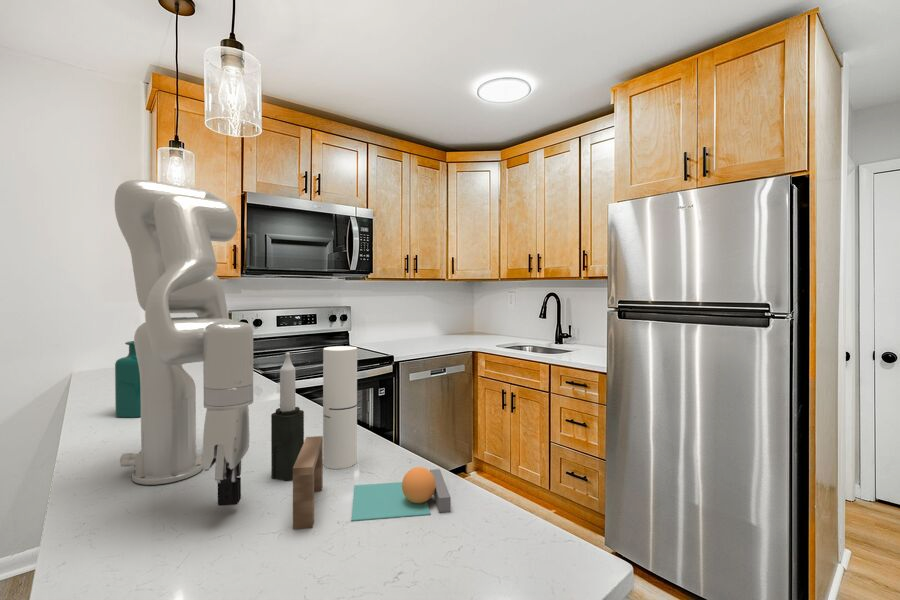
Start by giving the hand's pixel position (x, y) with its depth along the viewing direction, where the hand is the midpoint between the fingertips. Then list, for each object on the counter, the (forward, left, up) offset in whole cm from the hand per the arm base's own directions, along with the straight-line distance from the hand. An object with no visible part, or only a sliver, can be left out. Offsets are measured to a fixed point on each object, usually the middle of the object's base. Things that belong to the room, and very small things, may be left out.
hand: (229, 502), depth 76 cm
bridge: (+13, 0, -2) cm, 13 cm away
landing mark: (+27, 0, -2) cm, 27 cm away
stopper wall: (+36, 0, -2) cm, 36 cm away
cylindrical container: (+17, +19, -2) cm, 26 cm away
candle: (+7, +14, -2) cm, 16 cm away
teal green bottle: (-45, +67, -2) cm, 81 cm away
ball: (+32, -2, +2) cm, 32 cm away
